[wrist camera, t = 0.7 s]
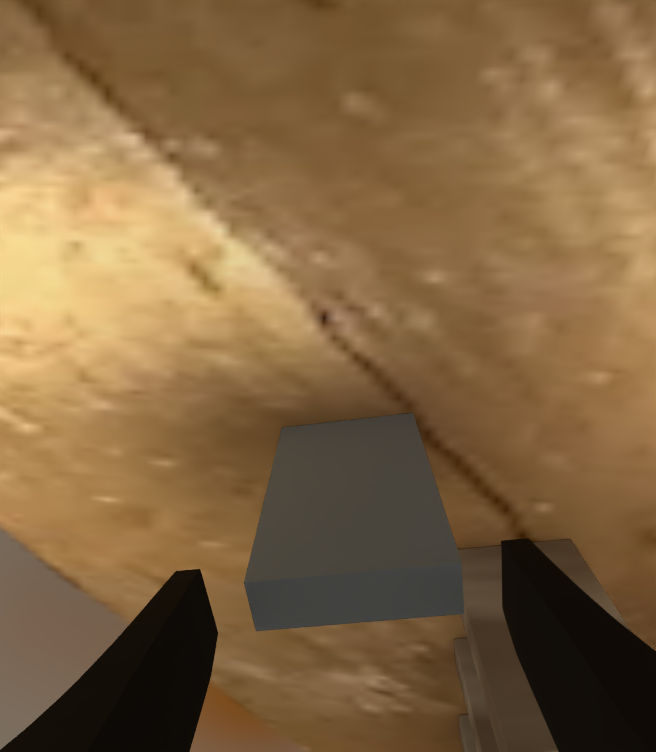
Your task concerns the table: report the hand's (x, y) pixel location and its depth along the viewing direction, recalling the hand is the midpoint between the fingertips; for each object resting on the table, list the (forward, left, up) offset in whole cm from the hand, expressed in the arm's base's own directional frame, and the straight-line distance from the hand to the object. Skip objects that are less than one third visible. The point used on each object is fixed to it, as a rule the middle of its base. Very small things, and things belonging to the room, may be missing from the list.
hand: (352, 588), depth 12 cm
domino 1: (0, 0, -8) cm, 8 cm away
